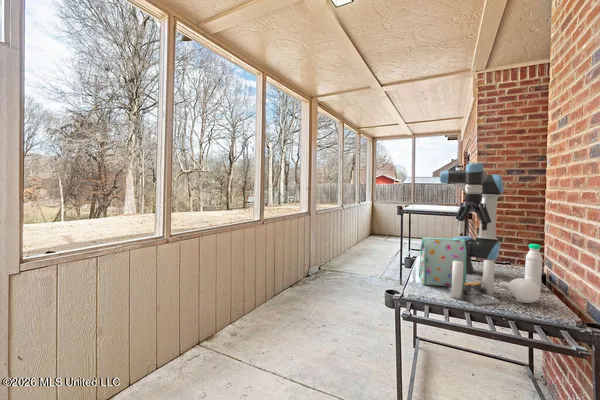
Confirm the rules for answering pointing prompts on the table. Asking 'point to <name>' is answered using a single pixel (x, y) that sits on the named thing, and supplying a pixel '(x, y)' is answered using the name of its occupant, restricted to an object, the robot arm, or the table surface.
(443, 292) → the table surface
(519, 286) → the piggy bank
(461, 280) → the white tapered rounded cylinder
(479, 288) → the orange-faced thin slab
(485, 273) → the off-white domed rod
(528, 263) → the water bottle
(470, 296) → the plate
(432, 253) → the lunch bag
